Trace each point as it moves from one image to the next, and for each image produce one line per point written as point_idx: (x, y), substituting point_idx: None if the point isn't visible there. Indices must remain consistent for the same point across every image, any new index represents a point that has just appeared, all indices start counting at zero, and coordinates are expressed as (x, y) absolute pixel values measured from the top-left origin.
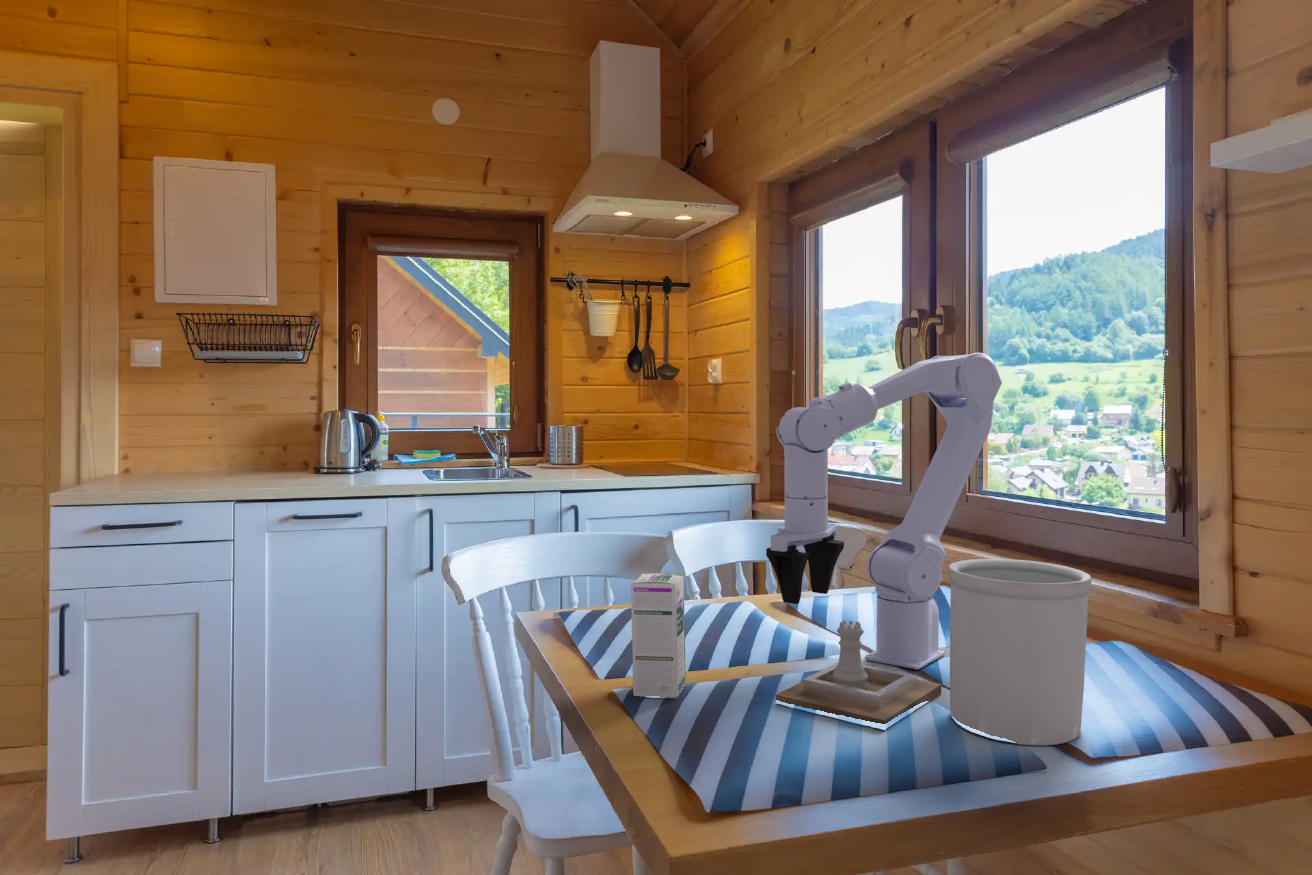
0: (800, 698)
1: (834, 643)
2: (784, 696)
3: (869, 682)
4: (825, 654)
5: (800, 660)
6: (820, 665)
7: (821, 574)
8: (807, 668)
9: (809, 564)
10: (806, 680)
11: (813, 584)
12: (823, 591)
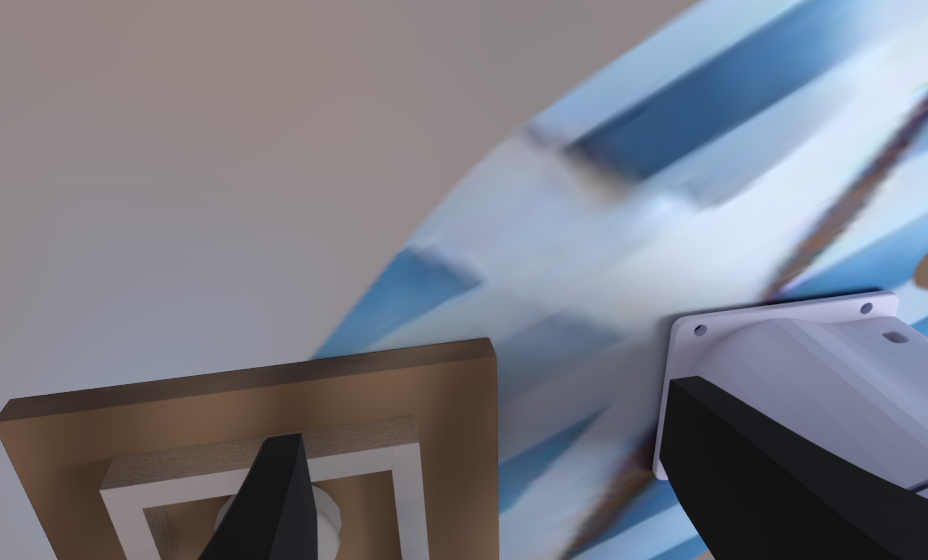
0: (46, 492)
1: (844, 104)
2: (9, 450)
3: (374, 518)
4: (672, 170)
5: (536, 144)
6: (524, 242)
7: (739, 532)
8: (457, 229)
9: (811, 501)
10: (105, 499)
11: (695, 422)
12: (668, 456)
